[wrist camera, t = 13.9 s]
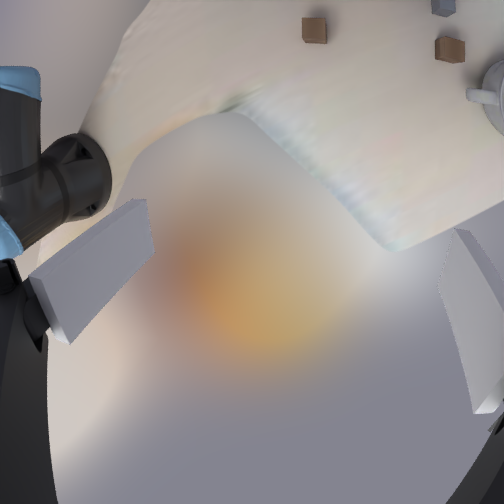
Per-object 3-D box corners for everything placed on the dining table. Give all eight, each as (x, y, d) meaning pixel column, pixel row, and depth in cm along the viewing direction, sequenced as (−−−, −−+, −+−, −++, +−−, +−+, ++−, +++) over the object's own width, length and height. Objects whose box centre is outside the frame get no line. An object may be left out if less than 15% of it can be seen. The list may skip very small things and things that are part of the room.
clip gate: (305, 43, 32) (302, 37, 28) (305, 24, 30) (301, 17, 27) (453, 63, 27) (464, 61, 24) (453, 45, 26) (464, 41, 23)
